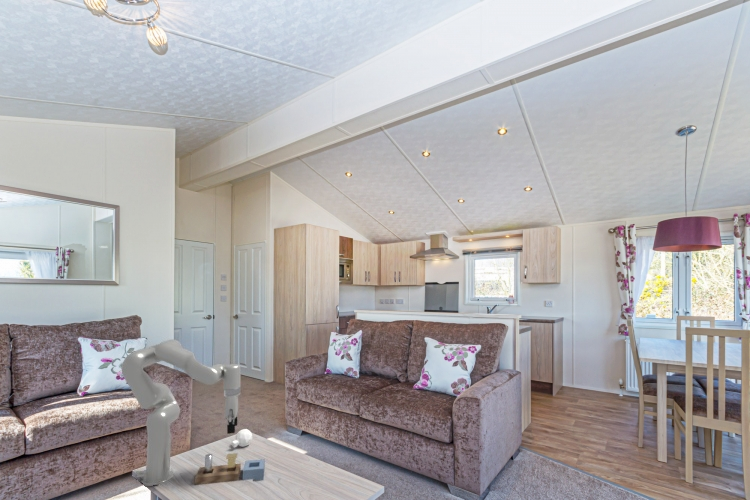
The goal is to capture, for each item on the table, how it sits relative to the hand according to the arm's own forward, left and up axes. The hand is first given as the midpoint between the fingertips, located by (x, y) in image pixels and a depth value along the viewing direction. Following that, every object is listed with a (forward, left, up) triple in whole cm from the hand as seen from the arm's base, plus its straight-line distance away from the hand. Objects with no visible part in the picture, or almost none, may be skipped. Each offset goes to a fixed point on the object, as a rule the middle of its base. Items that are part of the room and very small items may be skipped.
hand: (232, 429), depth 180 cm
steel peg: (-10, -1, -20) cm, 23 cm away
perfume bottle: (+1, +35, -22) cm, 41 cm away
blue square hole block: (+10, -1, -21) cm, 24 cm away
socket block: (-5, -1, -21) cm, 22 cm away
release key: (0, -1, -16) cm, 16 cm away
